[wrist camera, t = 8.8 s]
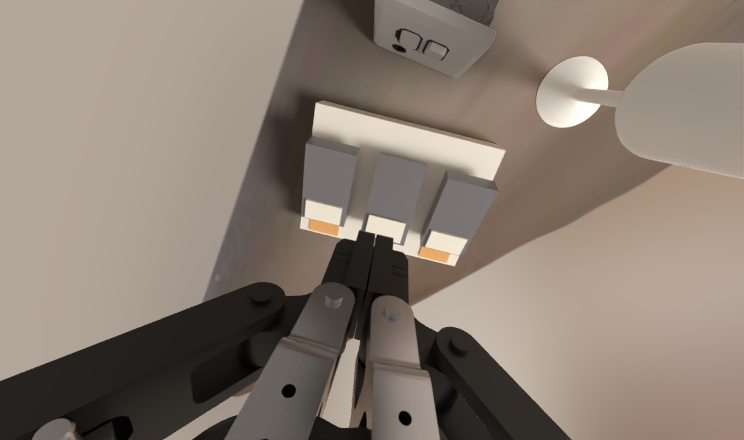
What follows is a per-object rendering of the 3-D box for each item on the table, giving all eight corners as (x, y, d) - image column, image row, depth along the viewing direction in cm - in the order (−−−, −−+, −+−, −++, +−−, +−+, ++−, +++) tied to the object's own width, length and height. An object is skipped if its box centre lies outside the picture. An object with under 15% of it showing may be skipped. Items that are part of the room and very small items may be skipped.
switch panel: (323, 100, 32) (313, 103, 29) (497, 144, 32) (507, 152, 29) (307, 217, 39) (298, 230, 36) (451, 253, 39) (455, 269, 36)
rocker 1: (312, 135, 29) (304, 144, 27) (360, 147, 29) (356, 157, 27) (306, 206, 35) (300, 218, 33) (347, 216, 35) (343, 228, 33)
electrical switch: (372, 44, 29) (365, 18, 21) (392, -15, 28) (393, -70, 19) (456, 80, 30) (483, 70, 22) (481, 25, 28) (521, -10, 20)
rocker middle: (379, 151, 31) (378, 155, 28) (426, 163, 31) (428, 167, 28) (361, 228, 34) (359, 236, 32) (403, 238, 34) (403, 247, 32)
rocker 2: (446, 169, 29) (448, 180, 28) (494, 181, 30) (499, 192, 28) (420, 235, 35) (420, 247, 33) (460, 245, 35) (462, 258, 33)
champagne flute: (522, 96, 30) (809, 148, 9) (583, 39, 28) (1207, -84, 6) (560, 141, 32) (883, 278, 10) (621, 91, 29) (1225, 136, 8)
